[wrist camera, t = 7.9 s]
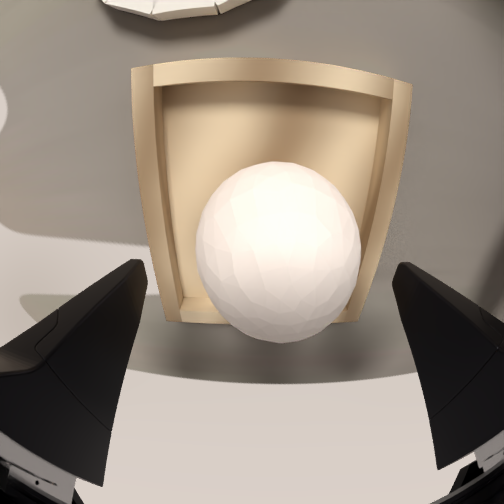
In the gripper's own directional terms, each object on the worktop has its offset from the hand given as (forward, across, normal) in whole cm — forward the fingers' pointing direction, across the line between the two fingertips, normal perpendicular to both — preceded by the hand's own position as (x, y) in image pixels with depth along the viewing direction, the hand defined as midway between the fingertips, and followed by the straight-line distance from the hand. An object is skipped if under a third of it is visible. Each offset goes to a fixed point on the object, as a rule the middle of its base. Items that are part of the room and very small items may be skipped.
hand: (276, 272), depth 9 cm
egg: (+6, 0, 0) cm, 6 cm away
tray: (+6, 0, 0) cm, 6 cm away
